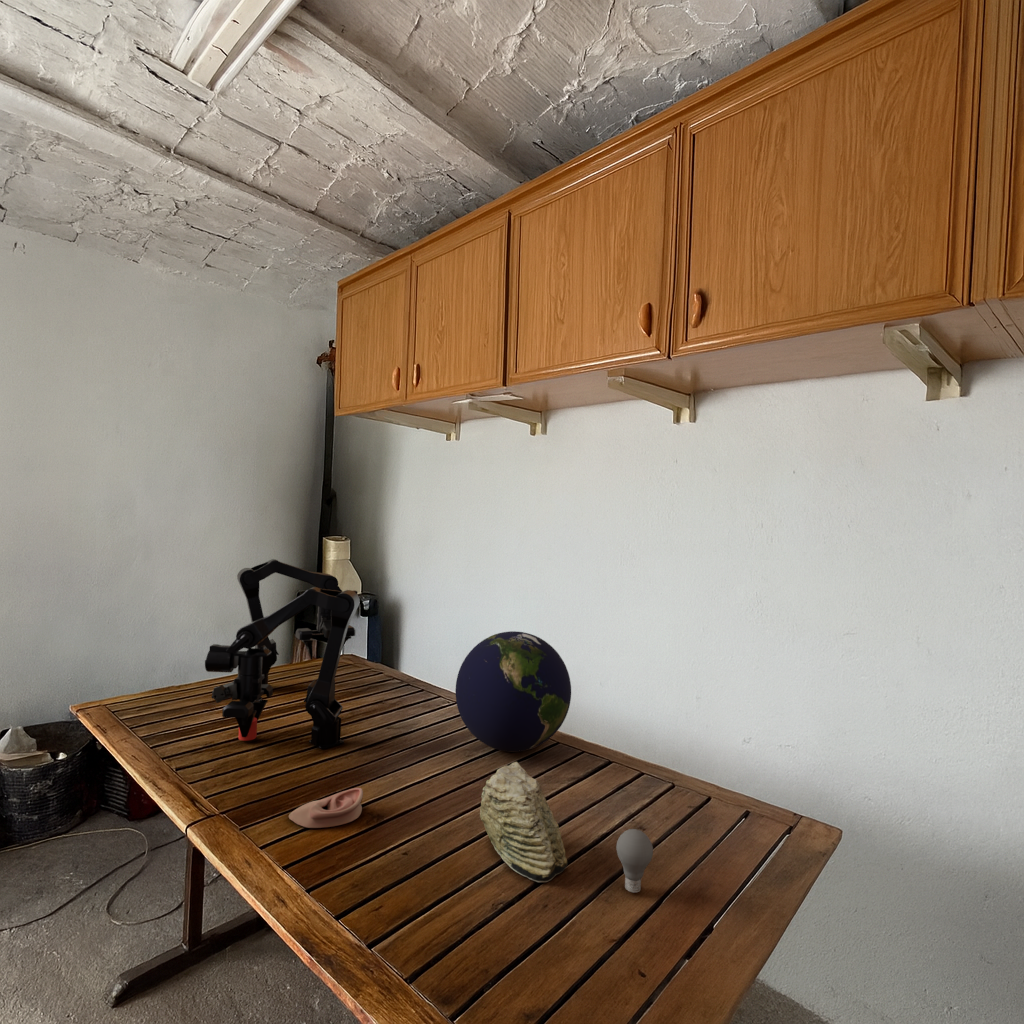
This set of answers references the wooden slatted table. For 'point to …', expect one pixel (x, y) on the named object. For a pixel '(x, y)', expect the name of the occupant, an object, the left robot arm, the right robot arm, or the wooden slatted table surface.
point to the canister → (250, 732)
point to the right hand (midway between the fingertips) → (247, 733)
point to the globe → (513, 691)
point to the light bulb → (634, 857)
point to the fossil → (522, 824)
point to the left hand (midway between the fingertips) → (325, 657)
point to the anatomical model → (330, 810)
